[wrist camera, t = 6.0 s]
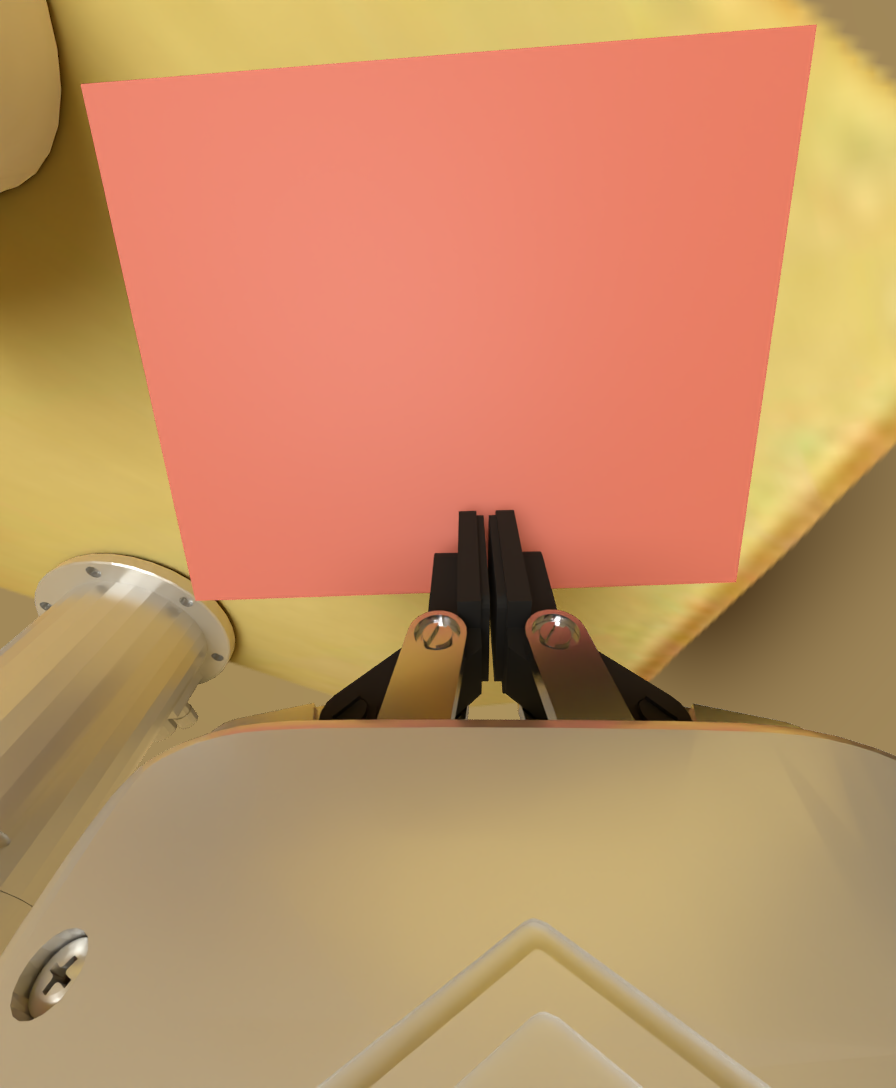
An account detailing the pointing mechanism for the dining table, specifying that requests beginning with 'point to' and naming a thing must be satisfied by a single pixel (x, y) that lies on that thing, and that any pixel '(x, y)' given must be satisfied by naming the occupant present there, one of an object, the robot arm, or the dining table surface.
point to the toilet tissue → (26, 89)
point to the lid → (458, 304)
